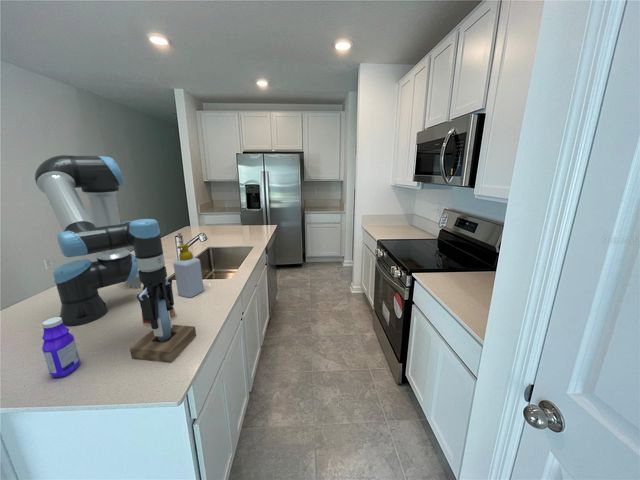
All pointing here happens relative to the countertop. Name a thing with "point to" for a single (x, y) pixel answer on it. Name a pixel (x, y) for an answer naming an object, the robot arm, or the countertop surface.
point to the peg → (163, 320)
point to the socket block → (163, 345)
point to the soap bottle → (188, 273)
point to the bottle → (59, 348)
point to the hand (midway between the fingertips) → (163, 331)
